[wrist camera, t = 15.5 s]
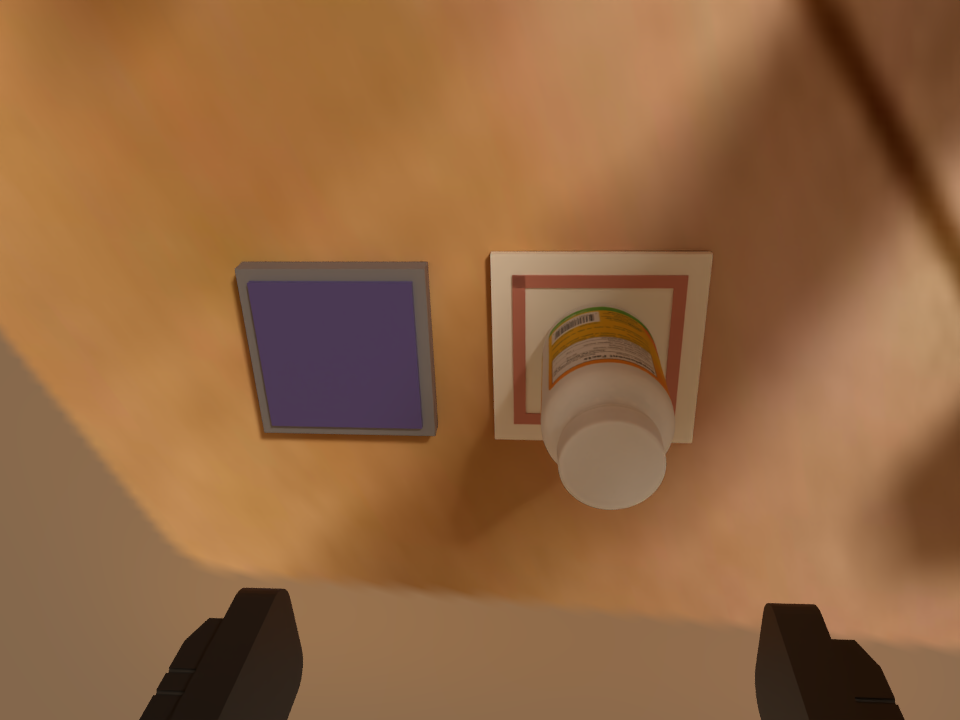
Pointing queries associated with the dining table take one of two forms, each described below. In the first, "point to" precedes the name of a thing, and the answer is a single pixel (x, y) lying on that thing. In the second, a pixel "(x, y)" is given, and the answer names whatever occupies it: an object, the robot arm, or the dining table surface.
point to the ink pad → (341, 346)
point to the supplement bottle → (605, 407)
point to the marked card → (586, 281)
